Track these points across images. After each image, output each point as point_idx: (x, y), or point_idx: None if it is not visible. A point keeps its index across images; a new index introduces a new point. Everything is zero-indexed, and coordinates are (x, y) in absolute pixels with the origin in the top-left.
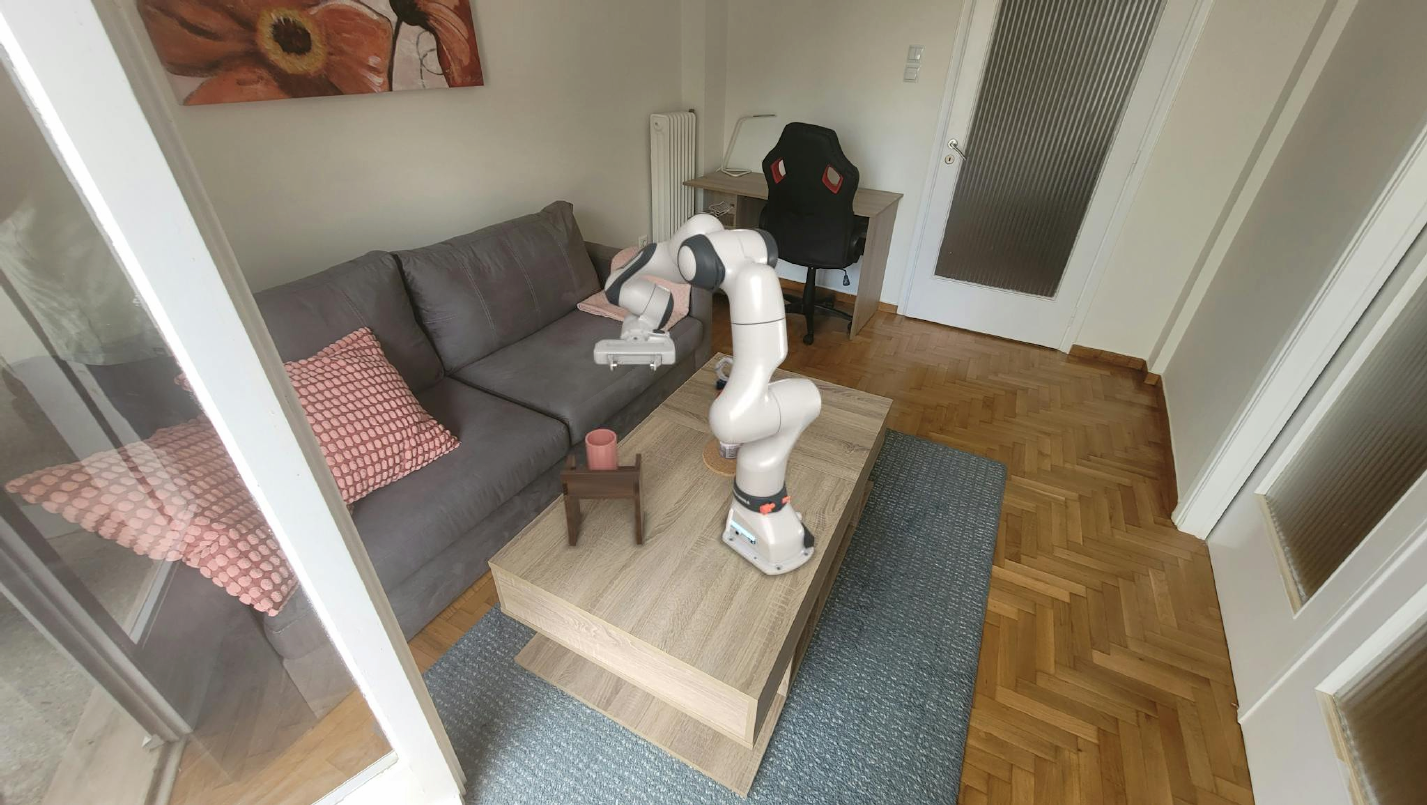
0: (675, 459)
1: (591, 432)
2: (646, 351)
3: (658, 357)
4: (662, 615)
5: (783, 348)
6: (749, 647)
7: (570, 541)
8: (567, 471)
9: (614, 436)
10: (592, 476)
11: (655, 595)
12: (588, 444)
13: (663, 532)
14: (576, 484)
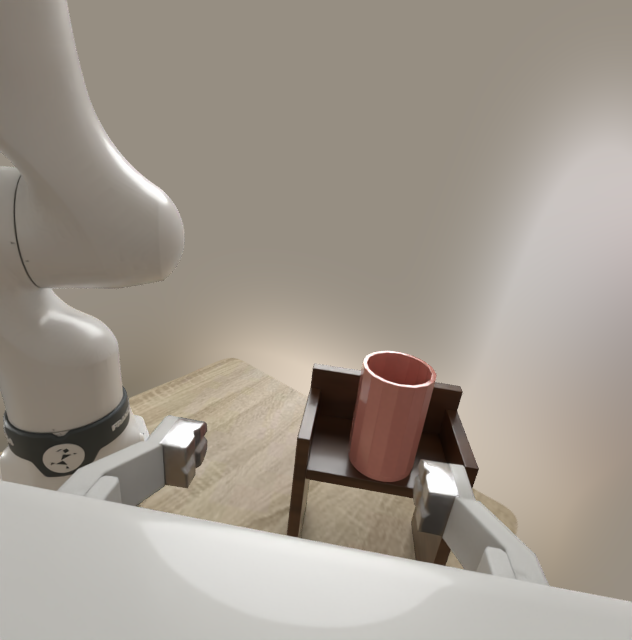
0: None
1: (427, 383)
2: (164, 521)
3: (99, 469)
4: (289, 409)
5: None
6: (216, 374)
7: None
8: (448, 386)
9: (367, 365)
10: None
11: (292, 428)
12: (421, 360)
13: (255, 517)
14: None
